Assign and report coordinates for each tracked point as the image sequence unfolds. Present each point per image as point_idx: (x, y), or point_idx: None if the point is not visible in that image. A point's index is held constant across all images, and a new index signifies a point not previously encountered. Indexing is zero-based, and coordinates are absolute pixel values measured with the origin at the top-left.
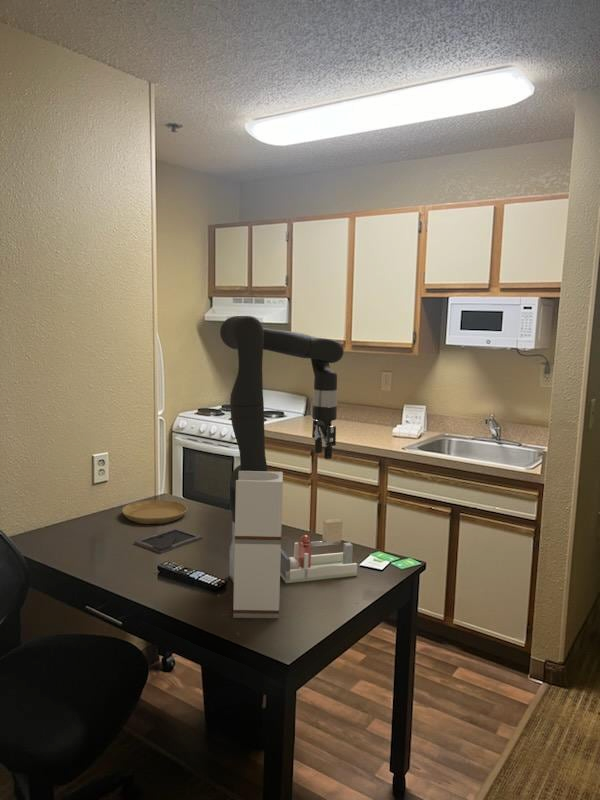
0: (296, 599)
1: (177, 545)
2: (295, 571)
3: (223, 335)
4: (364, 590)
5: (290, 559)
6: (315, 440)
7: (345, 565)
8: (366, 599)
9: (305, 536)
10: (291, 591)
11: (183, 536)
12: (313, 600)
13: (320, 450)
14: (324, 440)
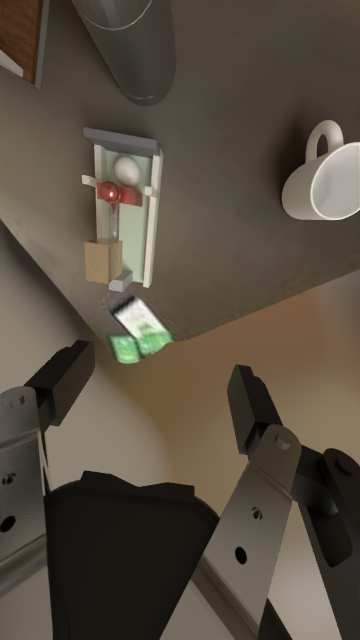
0: (37, 128)
1: None
2: (95, 159)
3: None
4: (56, 256)
5: (124, 162)
6: (265, 431)
7: None
8: (28, 242)
9: (102, 189)
10: (69, 136)
11: None
12: (31, 159)
13: (230, 394)
14: (11, 436)
